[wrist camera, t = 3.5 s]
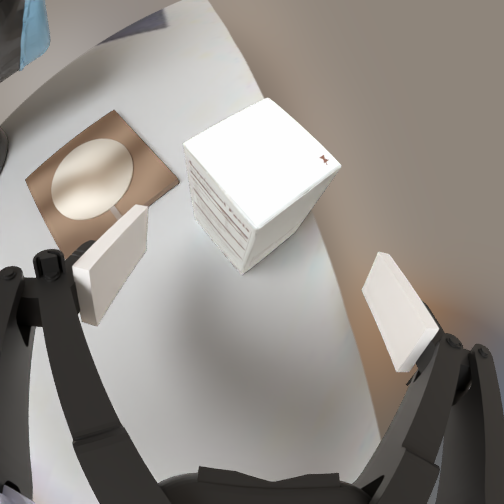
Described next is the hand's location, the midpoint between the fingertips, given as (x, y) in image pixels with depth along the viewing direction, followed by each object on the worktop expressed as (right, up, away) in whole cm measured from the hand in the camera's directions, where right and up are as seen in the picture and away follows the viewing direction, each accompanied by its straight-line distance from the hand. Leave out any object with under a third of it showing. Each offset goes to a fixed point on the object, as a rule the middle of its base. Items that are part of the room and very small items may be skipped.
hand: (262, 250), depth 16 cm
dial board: (-18, +8, +12) cm, 23 cm away
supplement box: (-1, +2, +13) cm, 14 cm away
